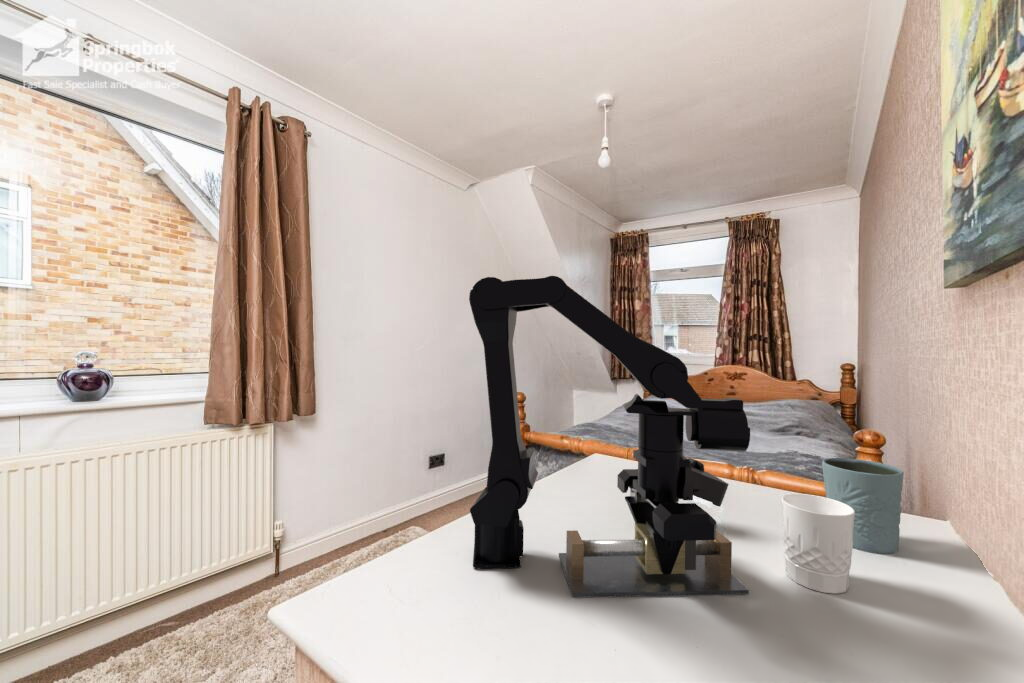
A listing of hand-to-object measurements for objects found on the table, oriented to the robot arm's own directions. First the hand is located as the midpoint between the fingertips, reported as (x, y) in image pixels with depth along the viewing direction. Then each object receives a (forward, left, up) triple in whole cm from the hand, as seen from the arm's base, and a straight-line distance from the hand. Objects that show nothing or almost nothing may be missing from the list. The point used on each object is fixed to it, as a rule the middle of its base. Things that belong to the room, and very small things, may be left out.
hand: (658, 563), depth 58 cm
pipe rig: (-2, 0, -1) cm, 2 cm away
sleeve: (0, 0, 0) cm, 0 cm away
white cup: (+20, -2, -2) cm, 21 cm away
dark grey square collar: (+3, 0, 0) cm, 3 cm away
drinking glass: (+36, +9, -2) cm, 38 cm away
